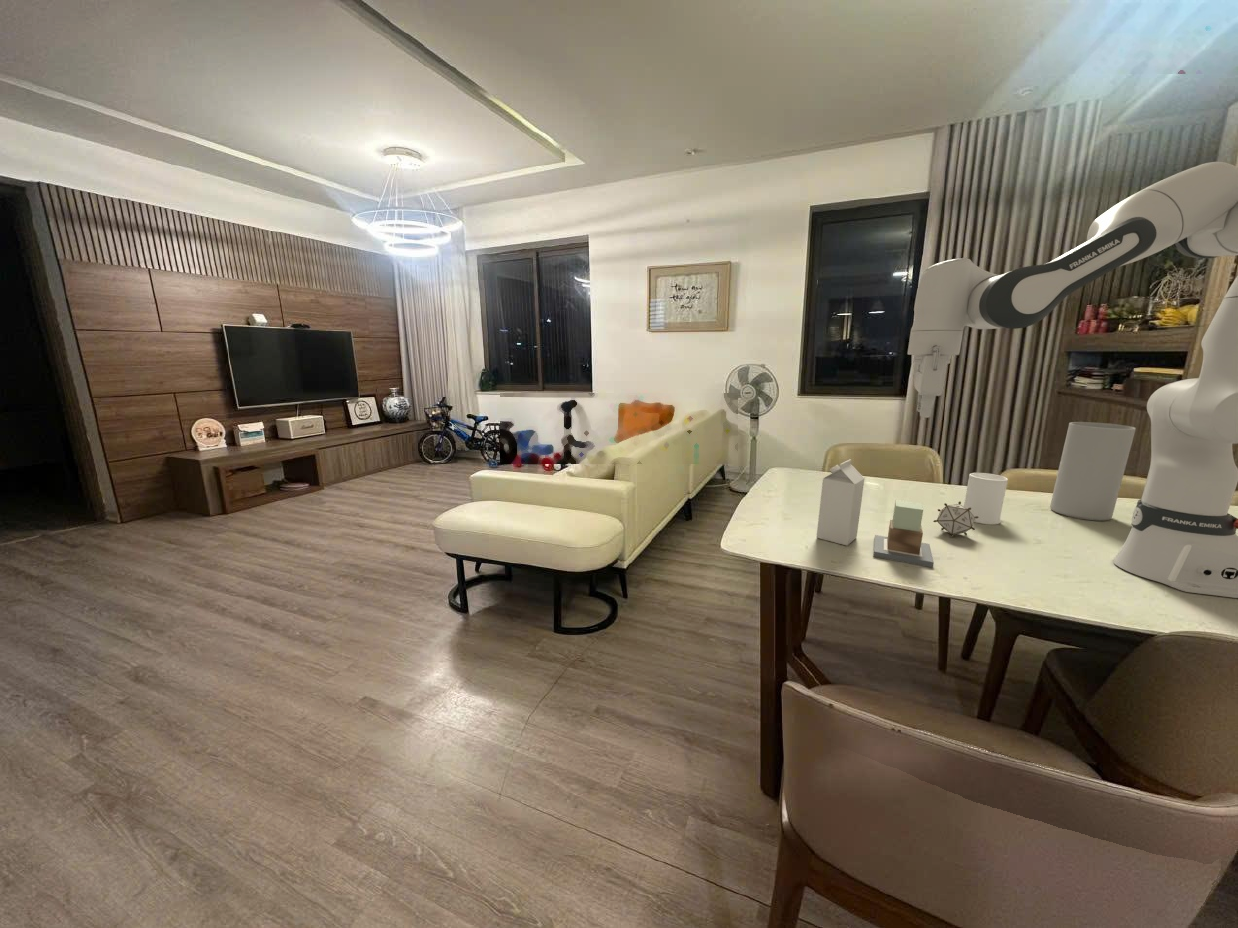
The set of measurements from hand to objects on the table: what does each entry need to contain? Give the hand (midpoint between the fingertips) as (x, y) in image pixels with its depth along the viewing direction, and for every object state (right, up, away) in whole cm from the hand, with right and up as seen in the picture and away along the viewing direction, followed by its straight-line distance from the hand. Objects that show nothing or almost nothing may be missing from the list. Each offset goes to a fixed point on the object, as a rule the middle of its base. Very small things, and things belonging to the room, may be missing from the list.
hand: (923, 414), depth 97 cm
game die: (+19, -28, +18) cm, 38 cm away
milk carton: (-11, -29, +15) cm, 34 cm away
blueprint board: (0, -30, +7) cm, 31 cm away
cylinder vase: (+66, -25, +33) cm, 77 cm away
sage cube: (0, -24, +6) cm, 25 cm away
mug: (+36, -25, +29) cm, 53 cm away
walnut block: (0, -29, +7) cm, 30 cm away
